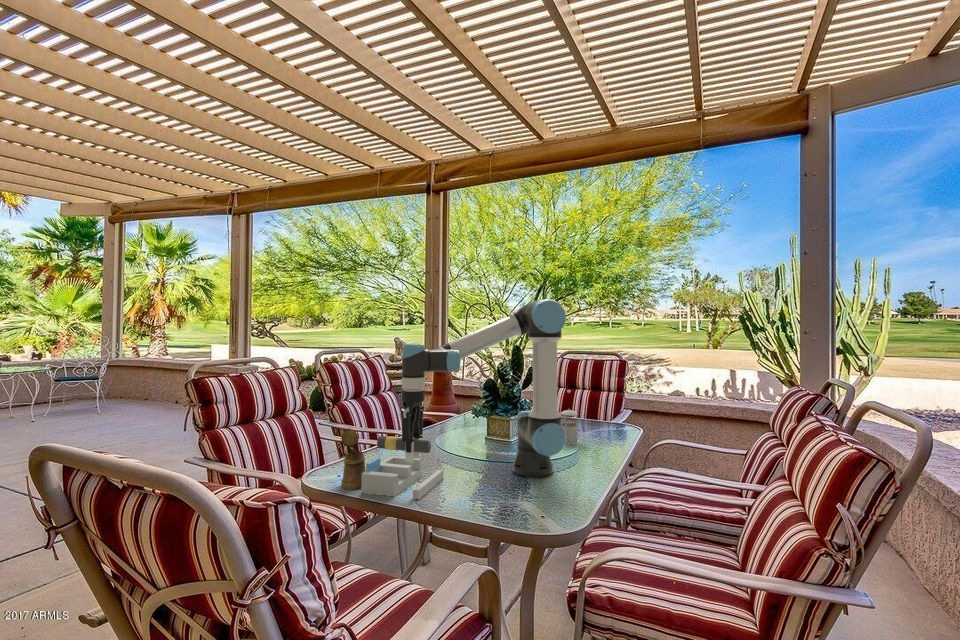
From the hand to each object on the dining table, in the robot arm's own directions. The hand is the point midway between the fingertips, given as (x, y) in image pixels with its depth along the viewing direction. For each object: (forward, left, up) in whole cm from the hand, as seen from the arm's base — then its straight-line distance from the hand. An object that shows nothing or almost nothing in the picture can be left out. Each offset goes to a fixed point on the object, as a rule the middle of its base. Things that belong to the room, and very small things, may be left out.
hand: (412, 459), depth 159 cm
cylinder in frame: (+5, -5, -11) cm, 13 cm away
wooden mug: (+23, -2, -11) cm, 26 cm away
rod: (+3, 0, +3) cm, 4 cm away
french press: (-43, -84, -11) cm, 95 cm away
